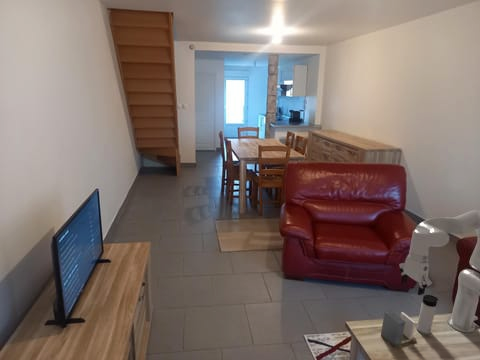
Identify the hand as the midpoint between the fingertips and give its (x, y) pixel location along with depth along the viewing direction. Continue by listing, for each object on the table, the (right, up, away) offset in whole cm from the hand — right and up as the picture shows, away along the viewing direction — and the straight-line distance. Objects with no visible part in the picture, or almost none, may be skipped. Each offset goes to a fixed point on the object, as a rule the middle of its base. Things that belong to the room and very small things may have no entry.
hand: (412, 288), depth 162 cm
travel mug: (+14, -27, +17) cm, 35 cm away
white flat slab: (+2, -27, +12) cm, 29 cm away
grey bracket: (-1, -28, +11) cm, 30 cm away
